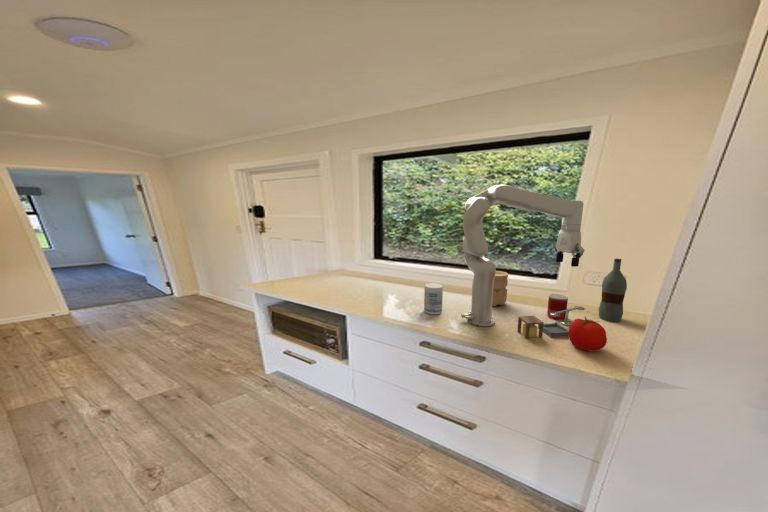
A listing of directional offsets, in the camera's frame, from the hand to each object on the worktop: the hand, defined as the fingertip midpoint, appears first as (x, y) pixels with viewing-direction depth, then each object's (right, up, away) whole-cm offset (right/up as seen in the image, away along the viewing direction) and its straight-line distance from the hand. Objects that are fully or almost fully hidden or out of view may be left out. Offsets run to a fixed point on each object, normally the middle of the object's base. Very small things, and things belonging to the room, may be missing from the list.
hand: (566, 264), depth 131 cm
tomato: (-6, -33, -21) cm, 40 cm away
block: (-22, -31, -9) cm, 39 cm away
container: (-23, -24, +29) cm, 44 cm away
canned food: (0, -27, +8) cm, 28 cm away
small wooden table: (-22, -31, -9) cm, 39 cm away
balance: (0, -29, 0) cm, 29 cm away
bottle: (+25, -27, +5) cm, 37 cm away
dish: (-11, -30, -7) cm, 33 cm away
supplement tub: (-60, -27, +19) cm, 68 cm away
